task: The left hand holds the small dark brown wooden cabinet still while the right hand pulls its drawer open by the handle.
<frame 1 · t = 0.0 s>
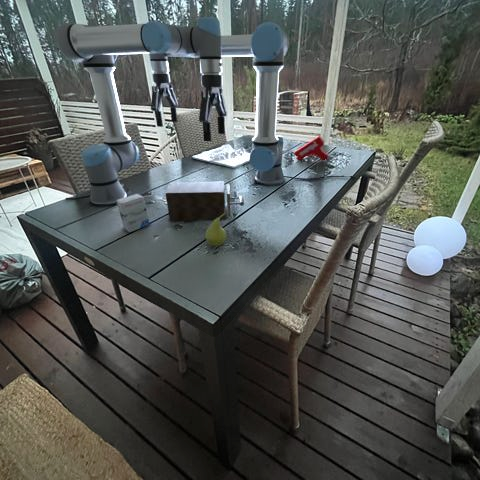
left hand: (215, 137, 107), 28 cm above the table, tool pointing down, fingers open, 13 cm apart
right hand: (167, 124, 132), 28 cm above the table, tool pointing down, fingers open, 13 cm apart
fruit: (217, 244, 93), on the table
ink box: (137, 226, 104), on the table
toy gun: (310, 160, 175), on the table
drawer: (211, 200, 109), point 6 cm above the table, slide at 1.1 cm
cabinet: (198, 214, 112), on the table
relief map: (226, 158, 180), on the table
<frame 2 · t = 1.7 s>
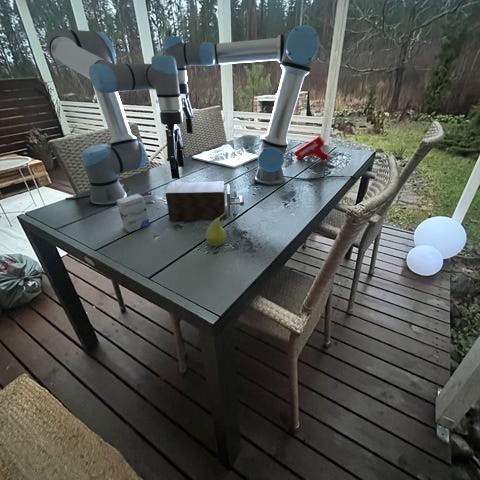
left hand: (178, 172, 103), 18 cm above the table, tool pointing down, fingers open, 13 cm apart
right hand: (184, 136, 124), 25 cm above the table, tool pointing down, fingers open, 13 cm apart
nothing on the table moved.
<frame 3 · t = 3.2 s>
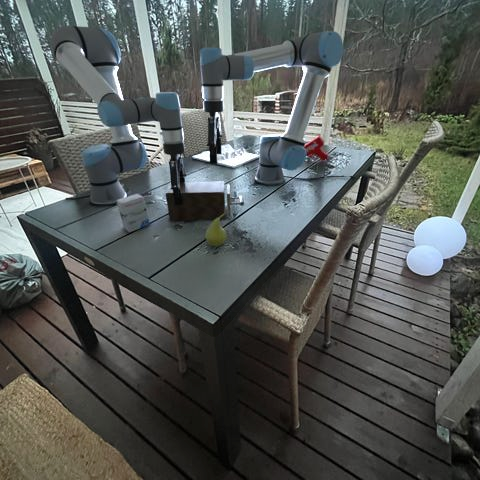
left hand: (181, 198, 108), 7 cm above the table, tool pointing down, fingers closed on cabinet, 11 cm apart
right hand: (216, 158, 110), 20 cm above the table, tool pointing down, fingers open, 13 cm apart
cabinet: (198, 214, 112), on the table, touching left hand
everything else where it was.
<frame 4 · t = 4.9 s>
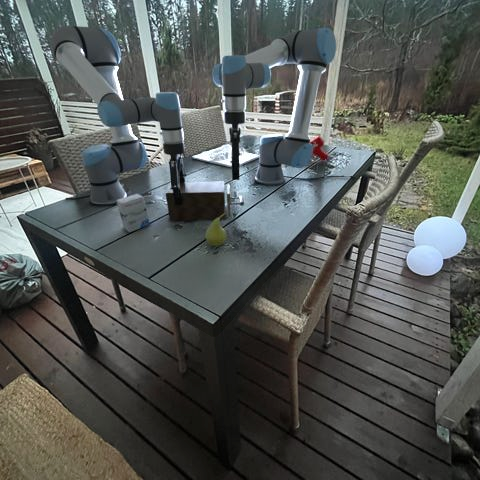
left hand: (181, 198, 108), 7 cm above the table, tool pointing down, fingers closed on cabinet, 11 cm apart
right hand: (235, 176, 104), 16 cm above the table, tool pointing down, fingers open, 7 cm apart
cabinet: (198, 214, 112), on the table, touching left hand
everything else where it was.
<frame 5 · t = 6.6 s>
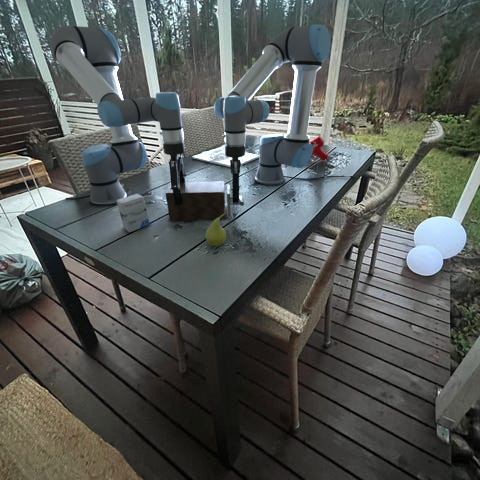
left hand: (181, 198, 108), 7 cm above the table, tool pointing down, fingers closed on cabinet, 11 cm apart
right hand: (235, 204, 110), 4 cm above the table, tool pointing down, fingers closed
drawer: (211, 200, 109), point 6 cm above the table, slide at 1.1 cm, touching right hand
cabinet: (198, 214, 112), on the table, touching left hand
everything else where it was.
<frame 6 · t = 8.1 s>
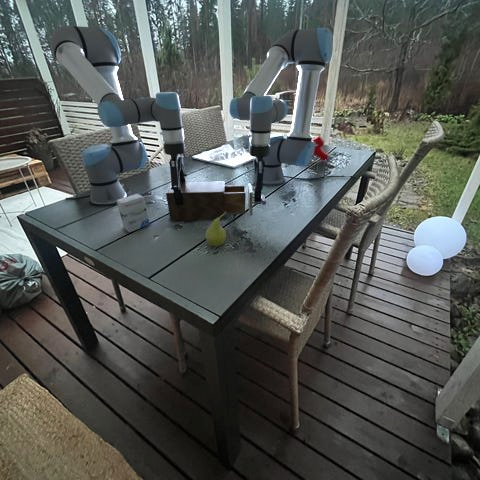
left hand: (181, 198, 108), 7 cm above the table, tool pointing down, fingers closed on cabinet, 11 cm apart
right hand: (257, 203, 111), 4 cm above the table, tool pointing down, fingers closed
drawer: (233, 199, 110), point 6 cm above the table, slide at 9.6 cm, touching right hand
cabinet: (199, 213, 112), on the table, touching left hand
everything else where it was.
when the left hand's fingers open (7 cm above the table, at t = 9.8 s): cabinet stays where it is, on the table.
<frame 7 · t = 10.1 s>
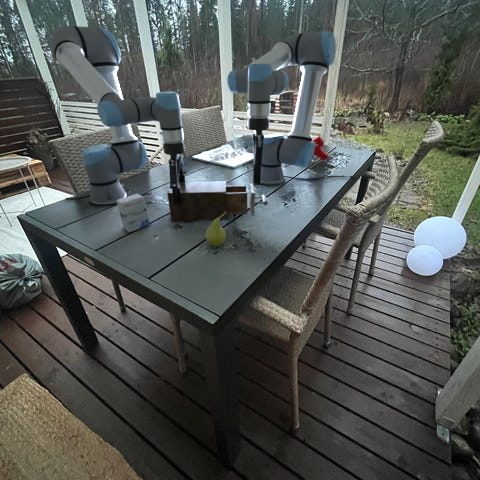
left hand: (180, 196, 108), 8 cm above the table, tool pointing down, fingers open, 13 cm apart
right hand: (256, 182, 106), 13 cm above the table, tool pointing down, fingers closed
drawer: (235, 199, 110), point 6 cm above the table, slide at 9.9 cm
cabinet: (200, 214, 112), on the table
everything else where it was.
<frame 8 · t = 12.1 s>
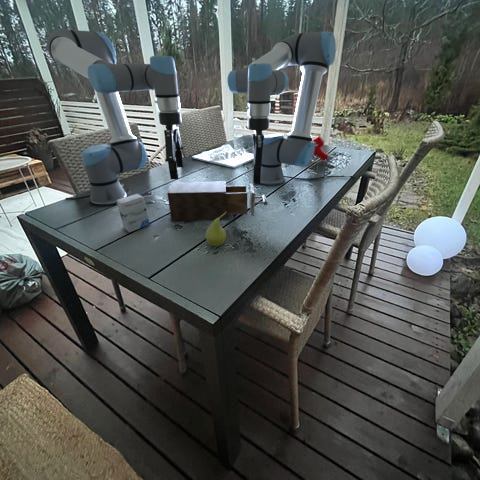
left hand: (177, 172, 103), 18 cm above the table, tool pointing down, fingers open, 13 cm apart
right hand: (256, 182, 106), 13 cm above the table, tool pointing down, fingers closed
nothing on the table moved.
at the end: drawer slide at 9.9 cm; cabinet tilted 0°; cabinet never tilted more than 3° during the clip; cabinet moved 0.7 cm from its start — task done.
